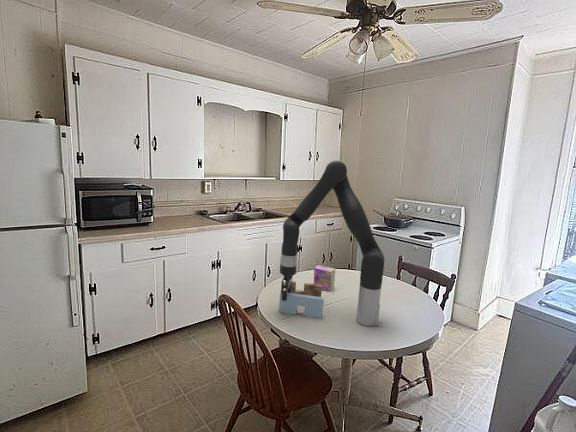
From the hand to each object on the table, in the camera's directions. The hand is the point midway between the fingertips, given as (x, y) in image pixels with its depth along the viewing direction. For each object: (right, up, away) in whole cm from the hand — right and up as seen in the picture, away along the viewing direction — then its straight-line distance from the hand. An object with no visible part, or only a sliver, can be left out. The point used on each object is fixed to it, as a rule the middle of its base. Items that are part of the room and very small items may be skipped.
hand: (286, 296), depth 145 cm
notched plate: (+7, -8, 0) cm, 10 cm away
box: (+21, -3, +29) cm, 36 cm away
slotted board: (+8, -5, +14) cm, 17 cm away
